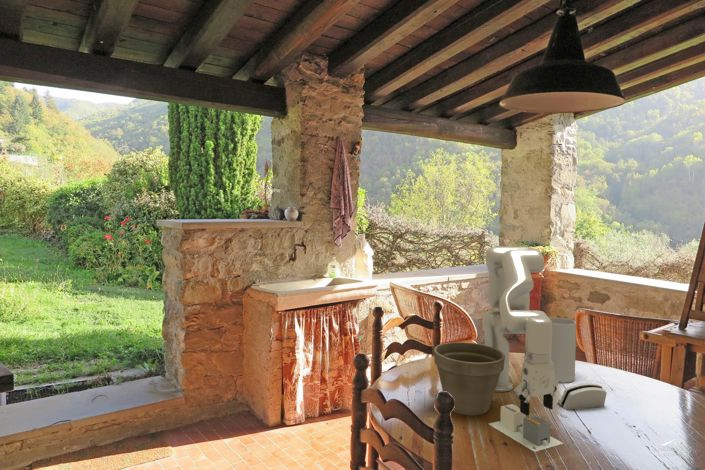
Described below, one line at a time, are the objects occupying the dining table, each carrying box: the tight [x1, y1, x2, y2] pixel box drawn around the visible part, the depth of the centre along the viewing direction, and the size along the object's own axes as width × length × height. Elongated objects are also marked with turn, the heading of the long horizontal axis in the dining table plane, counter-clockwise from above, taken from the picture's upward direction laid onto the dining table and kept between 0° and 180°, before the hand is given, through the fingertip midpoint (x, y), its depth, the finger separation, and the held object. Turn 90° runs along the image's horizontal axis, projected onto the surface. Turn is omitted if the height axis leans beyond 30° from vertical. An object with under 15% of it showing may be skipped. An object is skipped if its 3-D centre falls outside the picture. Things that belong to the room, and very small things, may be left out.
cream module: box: [499, 403, 527, 432], centre depth 154 cm, size 6×5×6 cm
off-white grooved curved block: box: [556, 382, 607, 410], centre depth 172 cm, size 17×5×10 cm, turn 101°
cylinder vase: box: [548, 317, 577, 384], centre depth 201 cm, size 12×12×25 cm
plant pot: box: [433, 341, 505, 416], centre depth 169 cm, size 25×25×22 cm
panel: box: [488, 420, 564, 453], centre depth 149 cm, size 20×12×2 cm, turn 25°
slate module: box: [523, 415, 551, 446], centre depth 145 cm, size 6×5×6 cm
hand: (536, 410), depth 145 cm, fingers open, 9 cm apart
